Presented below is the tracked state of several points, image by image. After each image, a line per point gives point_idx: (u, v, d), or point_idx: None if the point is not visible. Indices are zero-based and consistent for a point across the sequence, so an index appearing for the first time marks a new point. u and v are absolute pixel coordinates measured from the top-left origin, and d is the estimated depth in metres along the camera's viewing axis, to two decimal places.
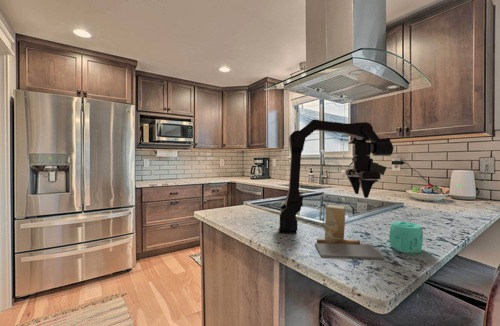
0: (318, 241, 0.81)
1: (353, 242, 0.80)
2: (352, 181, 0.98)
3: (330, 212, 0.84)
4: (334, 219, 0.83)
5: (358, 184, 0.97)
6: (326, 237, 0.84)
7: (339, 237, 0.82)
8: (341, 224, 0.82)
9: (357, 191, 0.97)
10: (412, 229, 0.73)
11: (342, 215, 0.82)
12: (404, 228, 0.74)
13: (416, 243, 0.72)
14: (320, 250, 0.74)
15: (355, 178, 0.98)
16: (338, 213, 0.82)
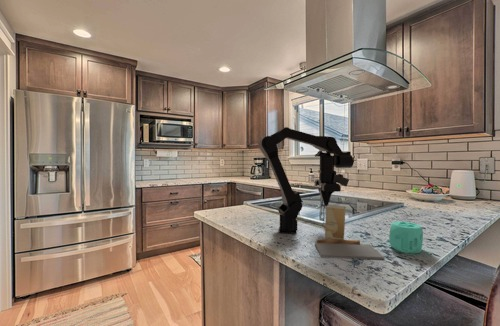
0: (318, 241, 0.81)
1: (353, 242, 0.80)
2: None
3: (330, 212, 0.84)
4: (334, 219, 0.83)
5: None
6: (326, 237, 0.84)
7: (339, 237, 0.82)
8: (341, 224, 0.82)
9: None
10: (412, 229, 0.73)
11: (342, 215, 0.82)
12: (404, 228, 0.74)
13: (416, 243, 0.72)
14: (320, 250, 0.74)
15: None
16: (338, 213, 0.82)
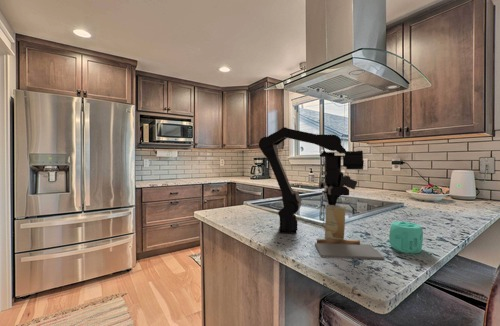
0: (318, 241, 0.81)
1: (353, 242, 0.80)
2: None
3: (330, 212, 0.83)
4: (334, 219, 0.83)
5: None
6: (326, 237, 0.84)
7: (339, 237, 0.82)
8: (341, 224, 0.82)
9: None
10: (412, 229, 0.73)
11: (342, 215, 0.82)
12: (404, 228, 0.74)
13: (416, 243, 0.72)
14: (320, 250, 0.74)
15: None
16: (338, 213, 0.82)
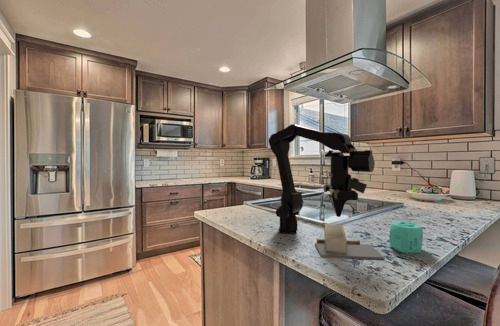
0: (318, 241, 0.81)
1: (353, 242, 0.80)
2: None
3: None
4: None
5: None
6: None
7: None
8: None
9: None
10: (412, 229, 0.73)
11: None
12: (404, 228, 0.74)
13: (416, 243, 0.72)
14: (320, 250, 0.74)
15: None
16: None
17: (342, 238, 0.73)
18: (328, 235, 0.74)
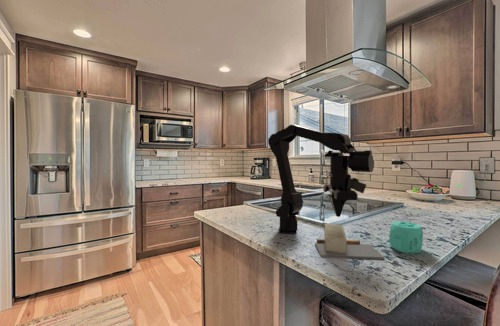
0: (318, 241, 0.81)
1: (353, 242, 0.80)
2: None
3: None
4: None
5: None
6: None
7: None
8: None
9: None
10: (412, 229, 0.73)
11: None
12: (404, 228, 0.74)
13: (416, 243, 0.72)
14: (320, 250, 0.74)
15: None
16: None
17: (342, 238, 0.73)
18: (328, 235, 0.74)
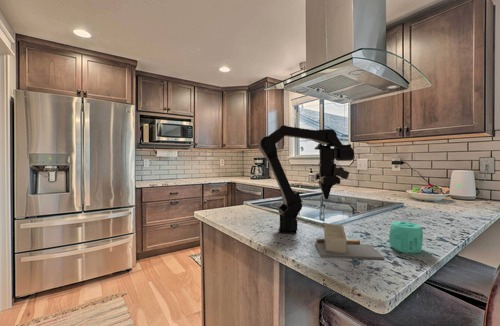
0: (318, 241, 0.81)
1: (353, 242, 0.80)
2: None
3: None
4: None
5: None
6: None
7: None
8: None
9: None
10: (412, 229, 0.73)
11: None
12: (404, 228, 0.74)
13: (416, 243, 0.72)
14: (320, 250, 0.74)
15: None
16: None
17: (342, 238, 0.73)
18: (328, 235, 0.74)
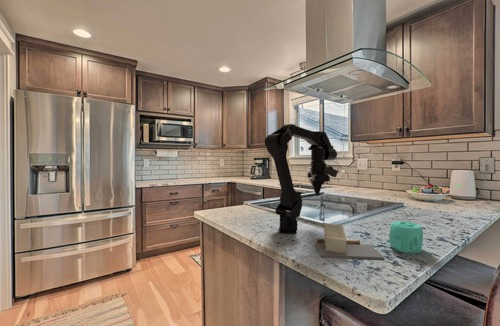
0: (318, 241, 0.81)
1: (353, 242, 0.80)
2: None
3: None
4: None
5: None
6: None
7: None
8: None
9: None
10: (412, 229, 0.73)
11: None
12: (404, 228, 0.74)
13: (416, 243, 0.72)
14: (320, 250, 0.74)
15: None
16: None
17: (342, 238, 0.73)
18: (328, 235, 0.74)
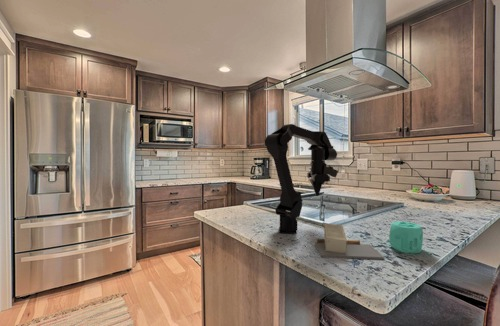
0: (318, 241, 0.81)
1: (353, 242, 0.80)
2: None
3: None
4: None
5: None
6: None
7: None
8: None
9: None
10: (412, 229, 0.73)
11: None
12: (404, 228, 0.74)
13: (416, 243, 0.72)
14: (320, 250, 0.74)
15: None
16: None
17: (342, 238, 0.73)
18: (328, 235, 0.74)
